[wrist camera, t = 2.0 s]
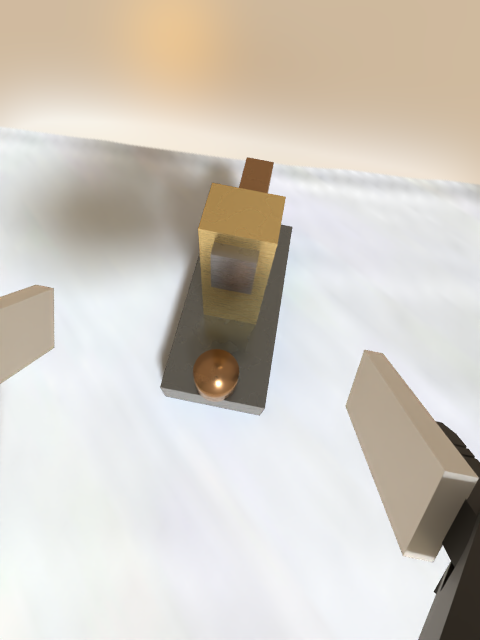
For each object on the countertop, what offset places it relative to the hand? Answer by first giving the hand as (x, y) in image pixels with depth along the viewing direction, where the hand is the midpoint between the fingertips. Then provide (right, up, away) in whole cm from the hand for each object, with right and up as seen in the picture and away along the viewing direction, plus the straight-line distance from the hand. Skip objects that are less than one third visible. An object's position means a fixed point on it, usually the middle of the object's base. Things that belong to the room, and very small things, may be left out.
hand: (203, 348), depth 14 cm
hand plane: (+1, +2, +22) cm, 22 cm away
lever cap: (+1, +3, +18) cm, 19 cm away
